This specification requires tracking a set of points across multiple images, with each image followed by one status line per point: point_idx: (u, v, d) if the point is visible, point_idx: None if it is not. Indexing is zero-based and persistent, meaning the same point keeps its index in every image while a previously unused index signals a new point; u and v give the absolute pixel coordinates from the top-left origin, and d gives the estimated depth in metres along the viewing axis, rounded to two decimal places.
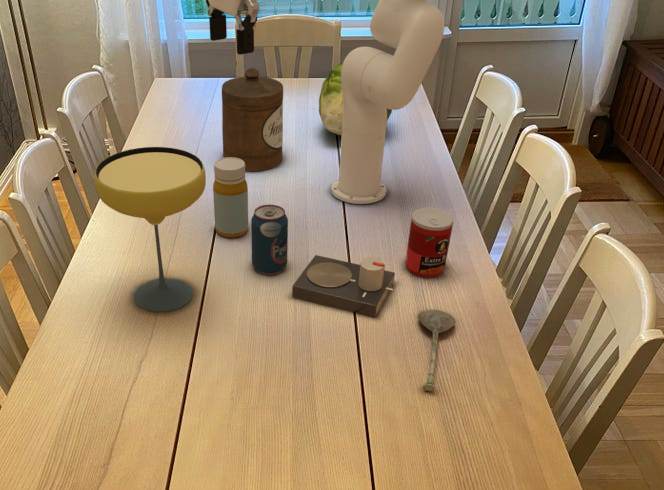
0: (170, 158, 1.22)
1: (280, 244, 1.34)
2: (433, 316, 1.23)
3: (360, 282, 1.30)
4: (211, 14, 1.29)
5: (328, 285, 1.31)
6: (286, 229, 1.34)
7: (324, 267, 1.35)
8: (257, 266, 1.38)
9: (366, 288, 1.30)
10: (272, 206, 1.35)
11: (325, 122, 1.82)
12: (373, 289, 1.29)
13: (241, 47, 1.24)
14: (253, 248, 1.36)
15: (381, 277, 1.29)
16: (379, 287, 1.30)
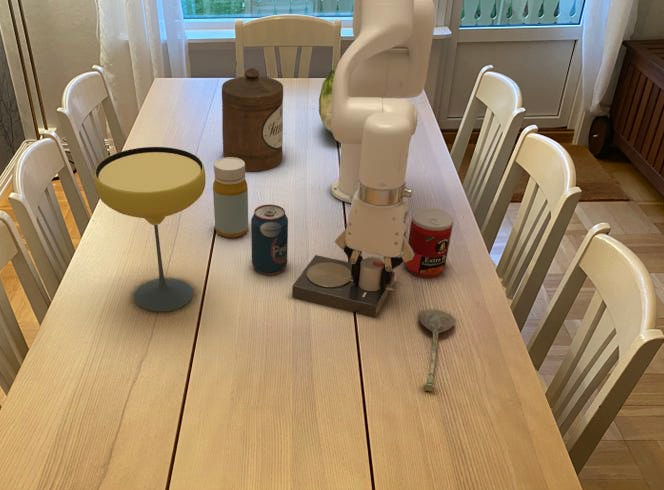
0: (170, 158, 1.22)
1: (280, 244, 1.34)
2: (433, 316, 1.23)
3: (360, 282, 1.30)
4: (356, 260, 1.28)
5: (328, 285, 1.31)
6: (286, 229, 1.34)
7: (324, 267, 1.35)
8: (257, 266, 1.38)
9: (366, 288, 1.30)
10: (272, 206, 1.35)
11: (325, 122, 1.82)
12: (373, 289, 1.29)
13: (385, 283, 1.29)
14: (253, 248, 1.36)
15: None
16: (379, 287, 1.30)
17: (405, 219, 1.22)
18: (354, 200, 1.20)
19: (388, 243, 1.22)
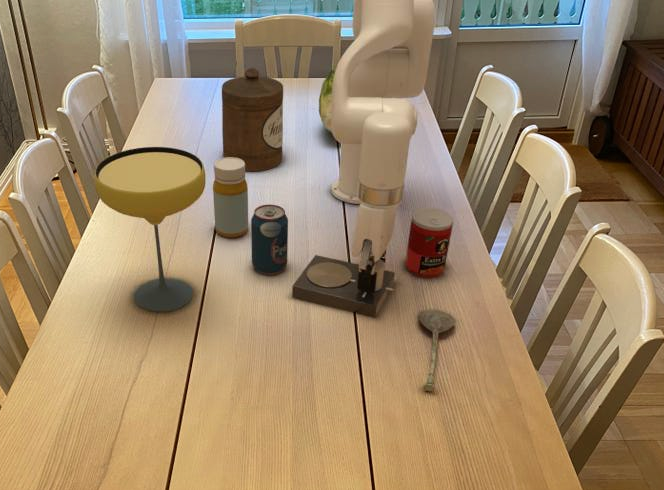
0: (170, 158, 1.22)
1: (280, 244, 1.34)
2: (433, 316, 1.23)
3: (377, 285, 1.29)
4: (374, 269, 1.26)
5: (328, 285, 1.31)
6: (286, 229, 1.34)
7: (324, 267, 1.35)
8: (257, 266, 1.38)
9: (382, 285, 1.30)
10: (272, 206, 1.35)
11: (325, 122, 1.82)
12: None
13: None
14: (253, 248, 1.36)
15: None
16: None
17: None
18: (383, 211, 1.17)
19: (392, 229, 1.26)
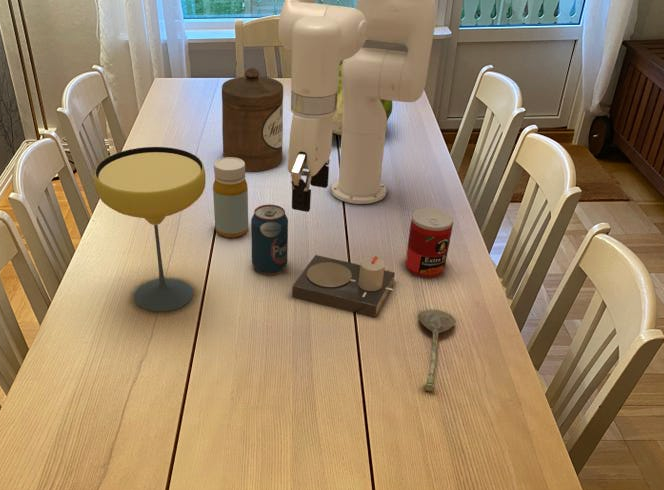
0: (170, 158, 1.22)
1: (280, 244, 1.34)
2: (433, 316, 1.23)
3: (377, 285, 1.29)
4: (308, 187, 1.21)
5: (328, 285, 1.31)
6: (286, 229, 1.34)
7: (324, 267, 1.35)
8: (257, 266, 1.38)
9: (382, 285, 1.30)
10: (272, 206, 1.35)
11: None
12: None
13: None
14: (253, 248, 1.36)
15: None
16: None
17: None
18: (317, 121, 1.14)
19: (330, 144, 1.23)
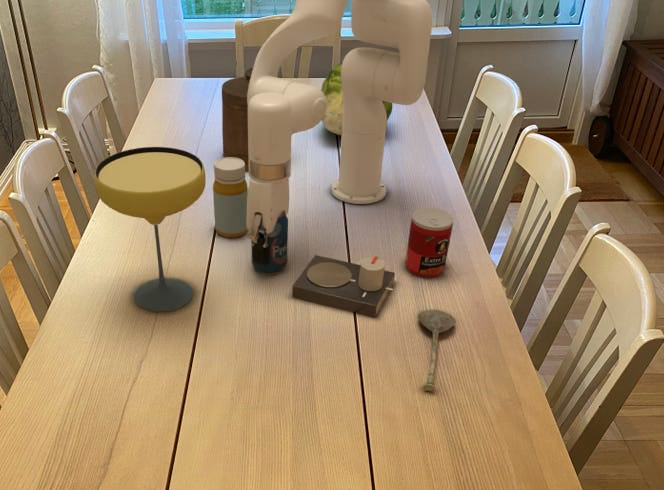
0: (170, 158, 1.22)
1: (280, 244, 1.34)
2: (433, 316, 1.23)
3: (377, 285, 1.29)
4: (267, 243, 1.33)
5: (328, 285, 1.31)
6: (286, 229, 1.34)
7: (324, 267, 1.35)
8: (257, 266, 1.38)
9: (382, 285, 1.30)
10: None
11: (325, 122, 1.82)
12: None
13: None
14: None
15: None
16: None
17: None
18: (270, 186, 1.25)
19: (286, 203, 1.34)
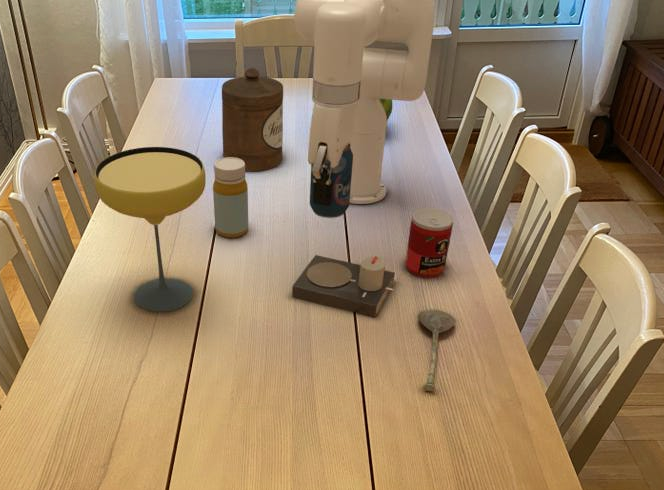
0: (170, 158, 1.22)
1: (344, 182, 1.20)
2: (433, 316, 1.23)
3: (377, 285, 1.29)
4: (330, 180, 1.18)
5: (328, 285, 1.31)
6: (351, 165, 1.19)
7: (324, 267, 1.35)
8: (316, 208, 1.23)
9: (382, 285, 1.30)
10: None
11: None
12: None
13: None
14: (313, 187, 1.21)
15: None
16: None
17: None
18: (338, 110, 1.10)
19: (352, 136, 1.19)
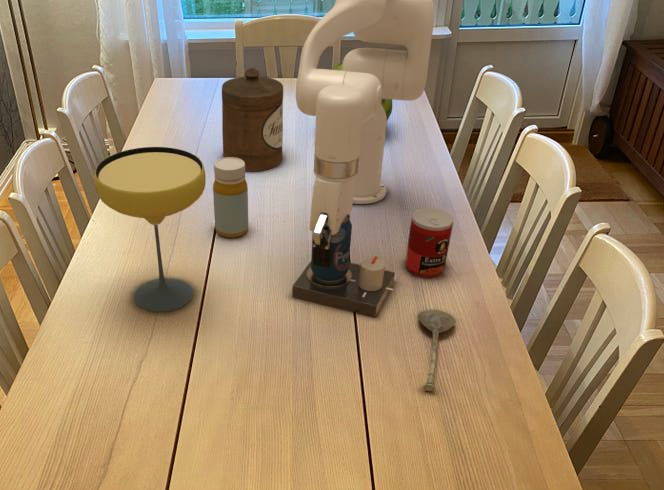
0: (170, 158, 1.22)
1: (343, 251, 1.27)
2: (433, 316, 1.23)
3: (377, 285, 1.29)
4: (329, 245, 1.24)
5: (328, 285, 1.31)
6: (350, 234, 1.27)
7: None
8: (318, 273, 1.31)
9: (382, 285, 1.30)
10: None
11: None
12: None
13: None
14: None
15: None
16: None
17: None
18: (338, 184, 1.18)
19: (351, 203, 1.27)
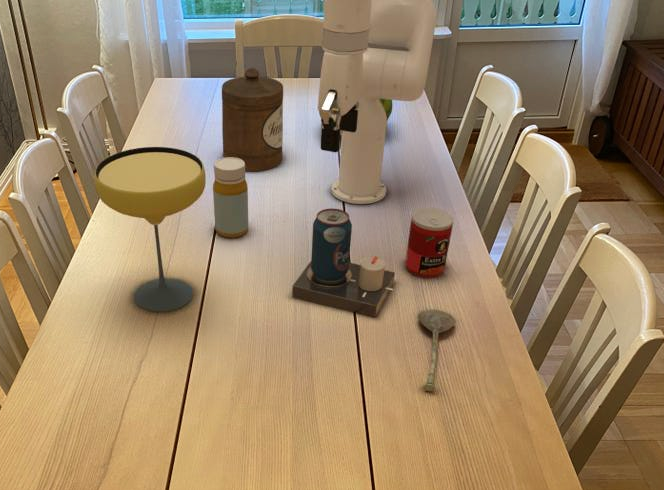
0: (170, 158, 1.22)
1: (343, 251, 1.27)
2: (433, 316, 1.23)
3: (377, 285, 1.29)
4: (337, 127, 1.21)
5: (328, 285, 1.31)
6: (350, 234, 1.27)
7: None
8: (318, 273, 1.31)
9: (382, 285, 1.30)
10: (334, 210, 1.28)
11: None
12: None
13: None
14: (314, 254, 1.29)
15: None
16: None
17: None
18: (348, 58, 1.15)
19: (360, 86, 1.24)
